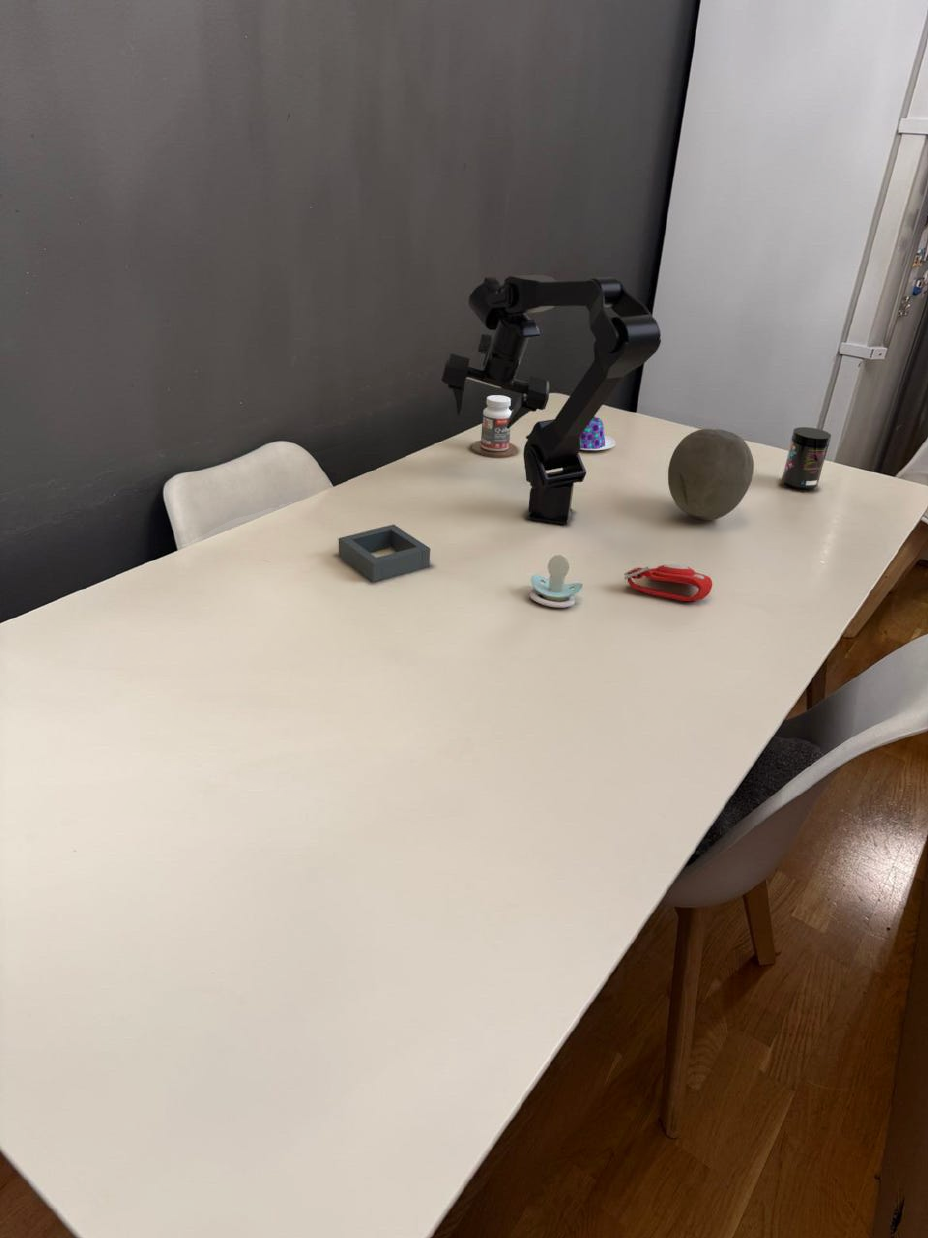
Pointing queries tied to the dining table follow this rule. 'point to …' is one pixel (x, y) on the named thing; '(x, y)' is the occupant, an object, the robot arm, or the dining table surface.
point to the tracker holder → (672, 580)
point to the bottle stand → (376, 569)
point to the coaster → (508, 452)
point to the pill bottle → (496, 423)
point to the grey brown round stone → (710, 473)
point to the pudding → (595, 436)
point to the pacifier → (555, 585)
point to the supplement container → (805, 458)
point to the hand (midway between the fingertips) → (483, 420)
